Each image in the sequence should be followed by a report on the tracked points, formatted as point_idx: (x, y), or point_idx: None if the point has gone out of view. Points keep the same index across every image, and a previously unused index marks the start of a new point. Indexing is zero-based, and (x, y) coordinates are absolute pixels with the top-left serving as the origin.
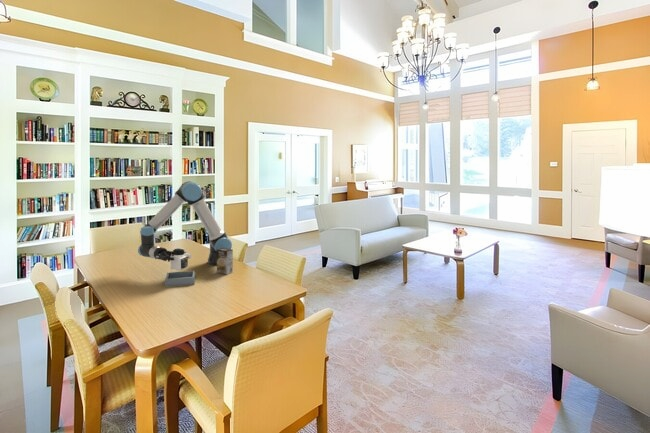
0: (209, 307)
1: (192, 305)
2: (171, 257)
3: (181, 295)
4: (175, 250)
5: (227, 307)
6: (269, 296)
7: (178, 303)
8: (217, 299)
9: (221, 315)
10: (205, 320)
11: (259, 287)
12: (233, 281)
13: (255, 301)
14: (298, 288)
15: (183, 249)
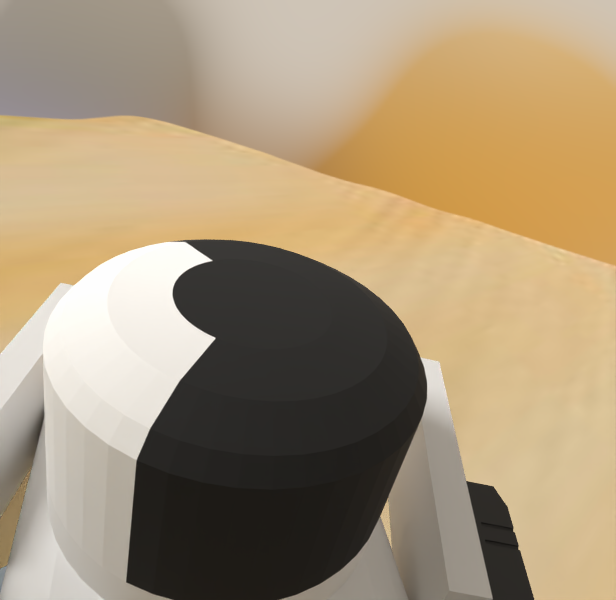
0: (482, 290)
1: (528, 350)
2: (483, 554)
3: (484, 477)
4: (414, 349)
5: (430, 245)
6: (241, 169)
7: (577, 420)
8: (386, 288)
9: (499, 246)
10: (568, 271)
11: (131, 193)
12: (27, 293)
13: (316, 194)
14: (107, 118)
15: (188, 241)
